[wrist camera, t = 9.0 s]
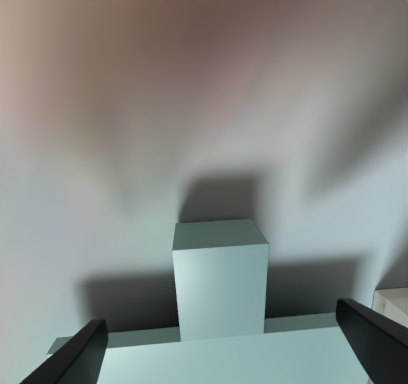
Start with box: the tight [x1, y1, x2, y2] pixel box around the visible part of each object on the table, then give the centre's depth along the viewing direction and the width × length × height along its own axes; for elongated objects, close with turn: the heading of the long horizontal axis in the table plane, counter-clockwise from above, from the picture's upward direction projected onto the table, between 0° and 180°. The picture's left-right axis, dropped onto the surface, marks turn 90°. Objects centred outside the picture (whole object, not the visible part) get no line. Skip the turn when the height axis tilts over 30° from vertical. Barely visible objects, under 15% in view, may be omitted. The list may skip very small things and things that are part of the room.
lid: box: [46, 219, 369, 384], centre depth 12 cm, size 17×16×2 cm
